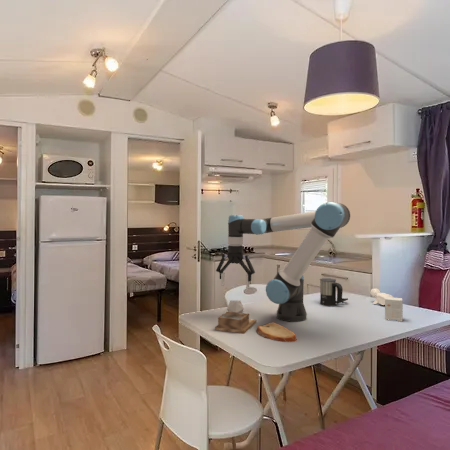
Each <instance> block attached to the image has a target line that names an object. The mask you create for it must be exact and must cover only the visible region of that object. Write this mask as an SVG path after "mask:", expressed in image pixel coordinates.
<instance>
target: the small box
mask: <svg viewBox="0 0 450 450" xmlns="http://www.w3.org/2000/svg"><path fill="white" fill-rule="evenodd" d="M403 305H404V304H403V298H402V297H393V298H392V297H385V306H384V320H385V319H389V320H388V321H392V320H397V321H396V322H403V315H404V314H403V311H404V310H403Z"/></svg>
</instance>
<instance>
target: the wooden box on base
mask: <svg viewBox="0 0 450 450" xmlns="http://www.w3.org/2000/svg"><path fill="white" fill-rule="evenodd" d="M256 323H257V319H252V318H250V314H249V313H244V312H243V313H236V312H228V311H226V312H224V313H223V314H221V315H219V316H217V325H216V326H214V330H215V331H222V332H229V333H238V334H246V333H247V332H248V331H249V330H250V329H251V328H252V327H253V326H255V325H256Z"/></svg>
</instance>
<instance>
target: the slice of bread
mask: <svg viewBox="0 0 450 450" xmlns="http://www.w3.org/2000/svg"><path fill="white" fill-rule="evenodd" d="M256 333H257V334H258V335H260V336H261V337H263V338H265V339H268V340H273V341H276V342H284V343H294V342H297V341H298V339H297V335H296V334H295V333H294V332H293V331H292V330H291V329H289V328H288V327H285V326H283V325H280V324H278V323H276V322H273V321H272V322H268V323H266V324H264V325H261V326H260V325H257V327H256Z"/></svg>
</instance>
